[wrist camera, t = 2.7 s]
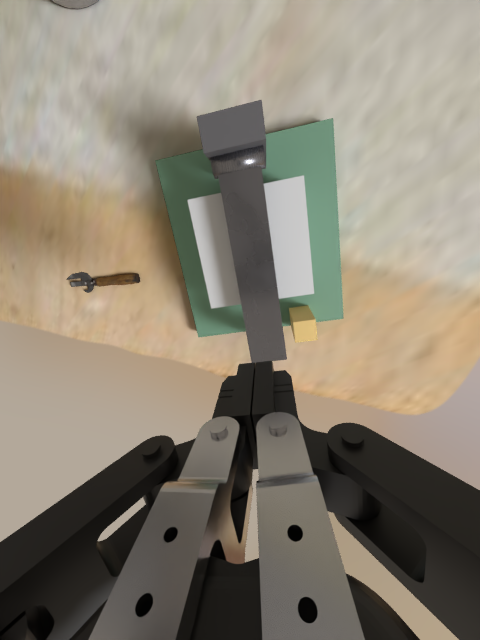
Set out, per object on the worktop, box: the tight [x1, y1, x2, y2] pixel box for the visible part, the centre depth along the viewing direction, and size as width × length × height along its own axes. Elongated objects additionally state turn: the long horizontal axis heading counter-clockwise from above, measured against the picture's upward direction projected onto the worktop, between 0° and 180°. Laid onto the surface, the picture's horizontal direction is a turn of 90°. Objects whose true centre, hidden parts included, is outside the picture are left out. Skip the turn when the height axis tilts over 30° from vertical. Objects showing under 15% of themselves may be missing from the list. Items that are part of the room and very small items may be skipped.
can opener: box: [66, 272, 140, 293], centre depth 30 cm, size 9×2×1 cm, turn 90°
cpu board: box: [156, 100, 343, 342], centre depth 23 cm, size 18×16×10 cm
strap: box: [210, 145, 287, 363], centre depth 22 cm, size 16×4×6 cm, turn 10°
